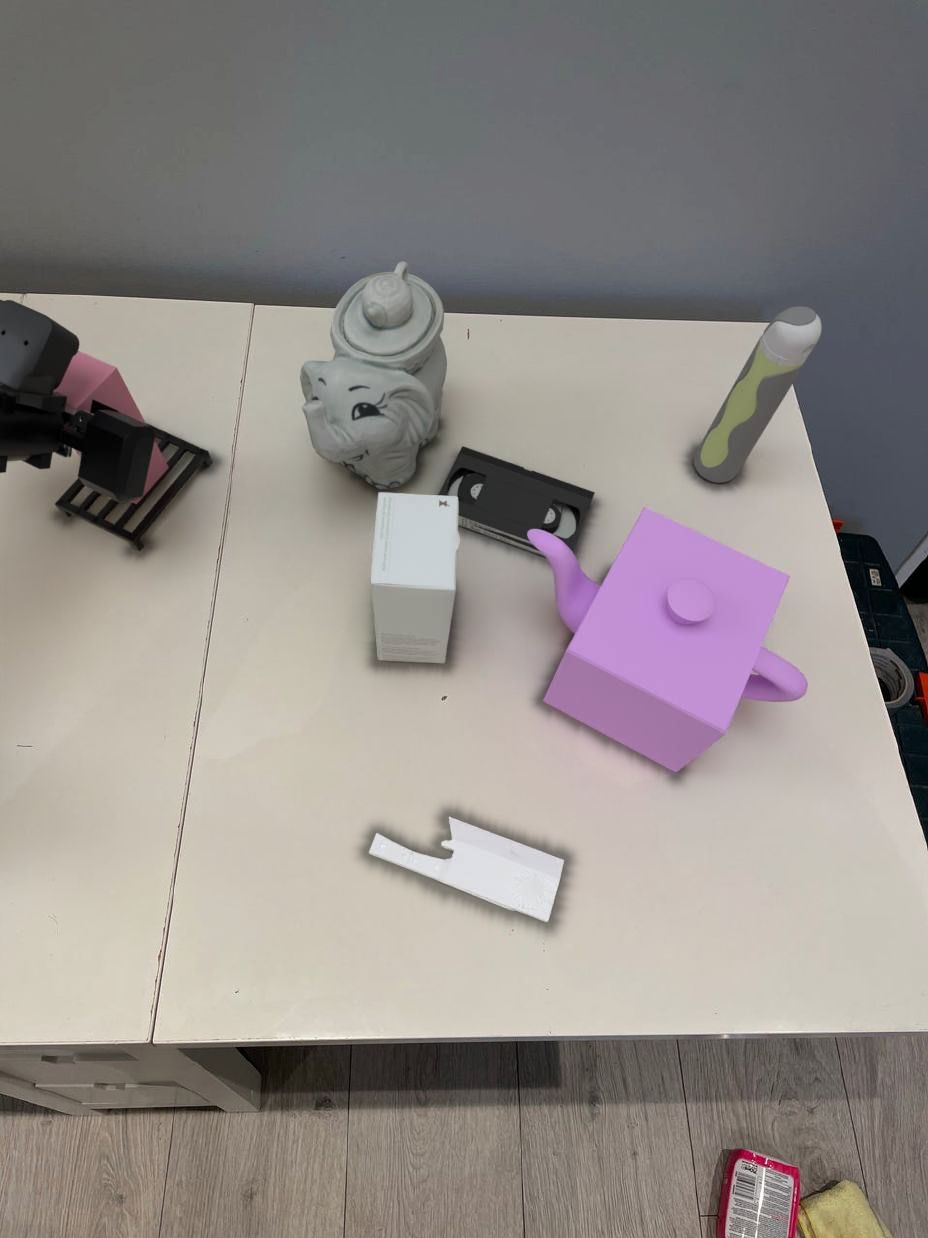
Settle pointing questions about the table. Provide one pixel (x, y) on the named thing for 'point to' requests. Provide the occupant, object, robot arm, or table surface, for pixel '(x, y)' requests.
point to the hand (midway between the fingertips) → (117, 420)
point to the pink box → (105, 400)
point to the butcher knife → (485, 868)
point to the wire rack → (156, 510)
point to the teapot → (666, 639)
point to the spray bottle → (757, 393)
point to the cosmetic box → (414, 575)
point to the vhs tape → (514, 500)
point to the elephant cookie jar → (379, 378)
